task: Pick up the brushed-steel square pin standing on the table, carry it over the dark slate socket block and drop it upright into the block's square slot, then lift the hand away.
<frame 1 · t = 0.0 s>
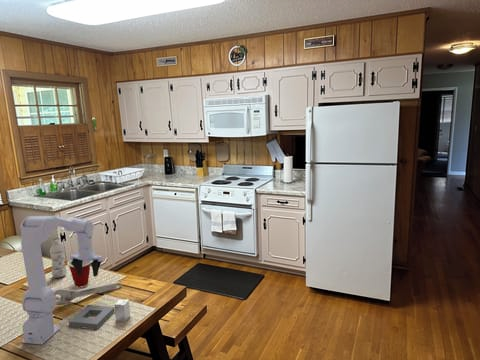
hand: (88, 275, 146), 10 cm above the table, tool pointing down, fingers open, 7 cm apart
plastic cup: (82, 284, 159), on the table
plastic bottle: (59, 276, 168), on the table
wrench: (88, 298, 147), on the table
socket block: (92, 318, 130), on the table
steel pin: (123, 318, 130), on the table
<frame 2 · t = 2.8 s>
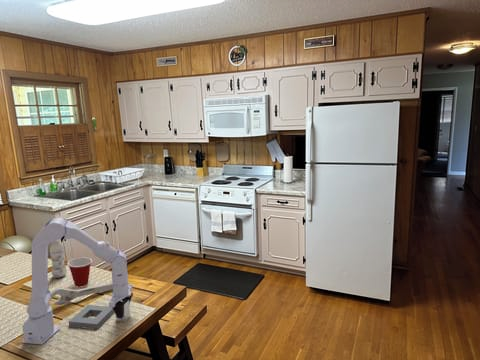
hand: (122, 314, 130), 2 cm above the table, tool pointing down, fingers closed on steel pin, 4 cm apart
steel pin: (123, 318, 130), on the table, touching gripper
everything else where it was.
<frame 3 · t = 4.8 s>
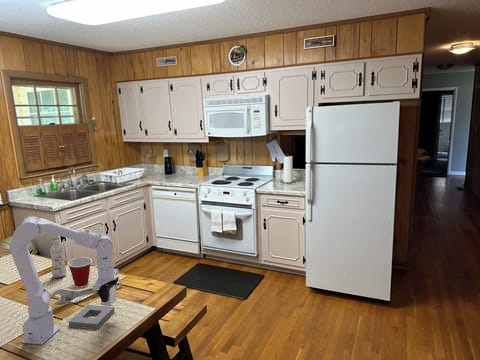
hand: (108, 298, 128), 8 cm above the table, tool pointing down, fingers closed on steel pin, 4 cm apart
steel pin: (108, 303, 129), point 7 cm above the table, touching gripper
everything else where it was.
when the fingers open (3 cm above the table, at t = 7.2 s): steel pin drops 1 cm, resting in socket block.
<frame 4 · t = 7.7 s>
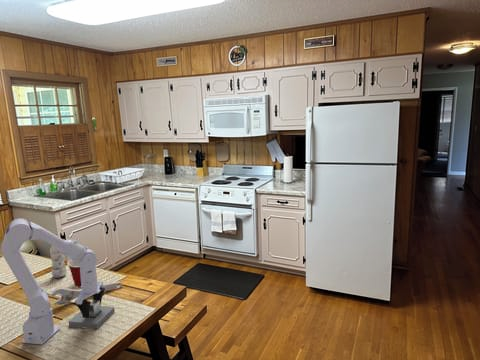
hand: (92, 311, 129), 3 cm above the table, tool pointing down, fingers open, 7 cm apart
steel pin: (93, 318, 130), resting in socket block
everything else where it was.
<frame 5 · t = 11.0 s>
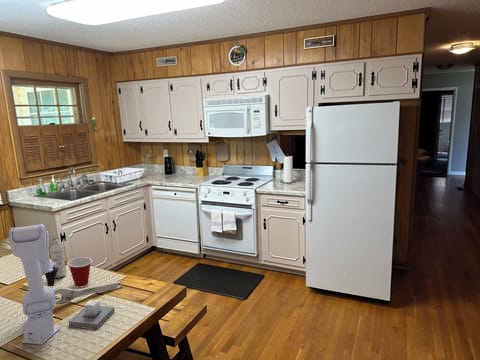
hand: (45, 290, 134), 9 cm above the table, tool pointing down, fingers open, 7 cm apart
nothing on the table moved.
at the end: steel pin 0.3 cm off-centre on the socket block, point 0.0 cm above the socket block's base; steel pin tilted 0°; the gripper is holding nothing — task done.
